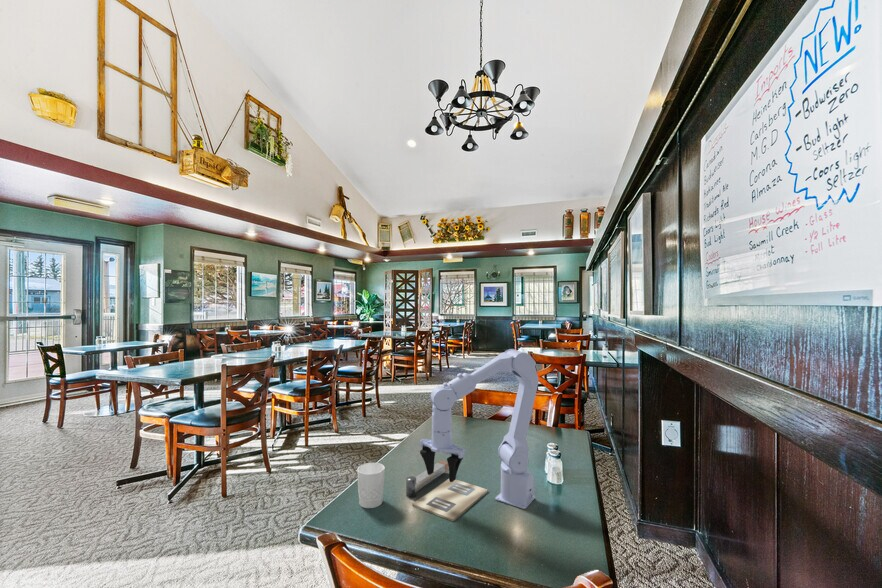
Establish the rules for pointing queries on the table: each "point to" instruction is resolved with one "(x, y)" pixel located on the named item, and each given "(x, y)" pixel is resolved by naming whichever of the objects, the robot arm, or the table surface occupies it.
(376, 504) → the white cup
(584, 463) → the table surface
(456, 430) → the table surface
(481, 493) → the label board
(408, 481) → the light grey long piece
